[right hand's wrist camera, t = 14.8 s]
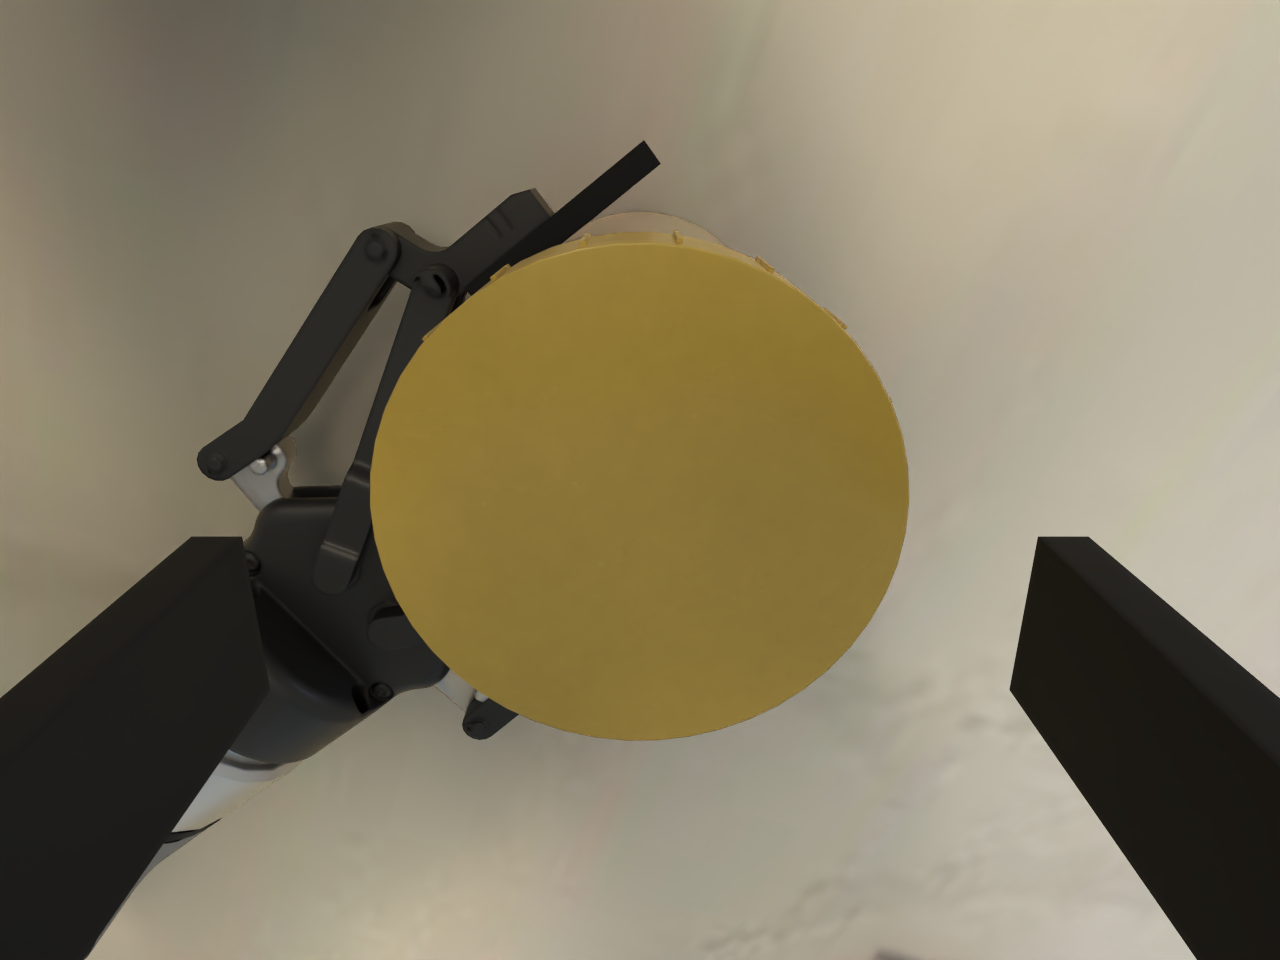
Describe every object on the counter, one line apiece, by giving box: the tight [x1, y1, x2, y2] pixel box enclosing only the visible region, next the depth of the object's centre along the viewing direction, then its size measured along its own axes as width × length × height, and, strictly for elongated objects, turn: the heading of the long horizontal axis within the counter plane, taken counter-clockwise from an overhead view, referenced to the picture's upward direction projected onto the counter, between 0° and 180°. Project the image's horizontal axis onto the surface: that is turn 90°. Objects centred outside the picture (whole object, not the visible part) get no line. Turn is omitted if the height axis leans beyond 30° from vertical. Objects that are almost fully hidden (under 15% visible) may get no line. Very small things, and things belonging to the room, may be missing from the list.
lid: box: [370, 230, 909, 740], centre depth 18 cm, size 11×11×2 cm
